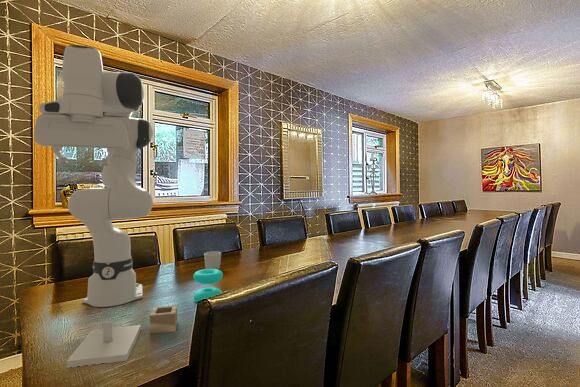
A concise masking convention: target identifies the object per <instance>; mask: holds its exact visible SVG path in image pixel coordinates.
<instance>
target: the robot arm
mask: <svg viewBox="0 0 580 387" xmlns="http://www.w3.org/2000/svg"><path fill="white" fill-rule="evenodd" d="M101 54H102V53H101V52H100V51H99V50H98V49H96V48H94V47H92V46H87V45H83V44H82V45H81V44H70V45H67V46H65V48H64V52H63V58H62V69H61V70H62V72H61V73H62V77H61V78H62V81H63V85H64V90H63V93H62V99H58V100H54V101H53V100H52V101H48V102H43V103H40V104H39V106H38V111H39V112H40V113H41V114H39V115H38V116H37V118H35V119H36V120H35V124H34V133H33V135H34V136H33V137H34V139H33V140H34V141H35V143H36V144H37V145H39V146H43V147H52V151H53V152H54V154H55V156H57V159H58V162H57V163H58V165H61V166H67V165H68V157H64V156H63V155H62V154H63V153H61V151H63V147H65V148H66V147H67V148H70V147H71V148H87V149H88V148H91V149H94V148H95V149H96V148H97V149H106V151H107V153H108V154H107V155H106V157H105V158H104V157H103V158H101V163H102V166H103V168H102V172H101V176H100V178H101V182H102V184H103V185H104V187H90V188H89V187H88V188H82V189H77V190H75V191H74V192H72V194H71V195H70V196H69V198H68V201H67V208H68V211H69V213H70V215H71V216H72V217H73V218H75V219H77V220H79V221H80V222H81V223H82V224H83V225H84V226H85V227H86V228H87V229H88V231H89V233H90V235H91V238H92V243H93V253H94V256H93V257H94V258H93V259H94V260H93V261H92V272H93V273H92V275H90V277H88V280H87V281H88V282H87V296H86V297H85V298H83V299H82V303H83V304H86V305H87V304H88V305H90V306H91V307H94V308H95V307H97V308H99V307H101V308H106V307H115V306H119V305H123V304H127V303H130V302H132V301H136V300H139V299H143V298H144V293H143V292H144V290H143V289H144V288H143V284H141V283H139V282H138V283H137V273H136V272H135V270H134V269H133V257H132V254H131V249H132V248H131V247H132V246H131V237H130V235H129V234H128V233H127V232H125V231H124V230H122V229H120V228H116V227H115V226H114V225H113V223H112V220H135V219H139V218H144V217H147V216H148V215H149V214H150V213H151V211H152V209H153V205H154V204H153V202H154V201H153V197H152V195H151V193H150V192H149V191H148V190H146V189H144V188H142V187H141V186H140V185H138V184H137V182H136V174H137V166H138V165H137V164H138V159H137V150H138V149H139V150H140V151H142V150H143V148H145V147H146V146H148V145H149V144H150V143H151V140H152V139H153V135H154V133H153V132H154V131H153V126H152V125H151V122H150V121H149V120H147V119H146V118H145V119H144V118H140V117H139V118H136V117H132V114H133V112H137V111H139V110H140V108H141V106H142V105H143V102H144V100H145V87H144V83H143V81H142V79H141V78H140V77H139V76H138V75H137V74H135V73H134V72H127V71H125V72H117V71H106V70H104V67H103V59H102V55H101Z"/></svg>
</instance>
